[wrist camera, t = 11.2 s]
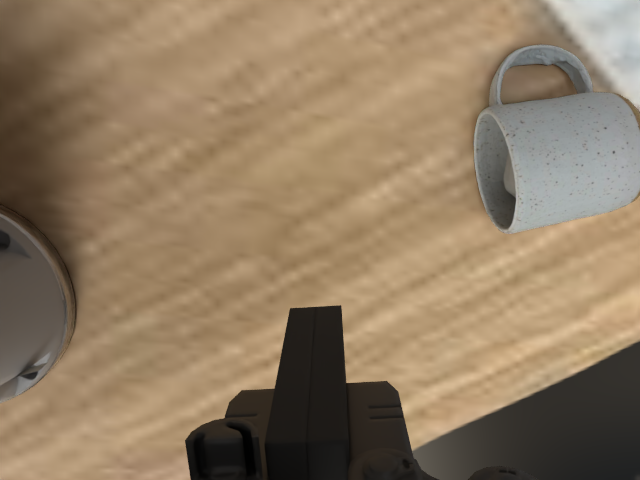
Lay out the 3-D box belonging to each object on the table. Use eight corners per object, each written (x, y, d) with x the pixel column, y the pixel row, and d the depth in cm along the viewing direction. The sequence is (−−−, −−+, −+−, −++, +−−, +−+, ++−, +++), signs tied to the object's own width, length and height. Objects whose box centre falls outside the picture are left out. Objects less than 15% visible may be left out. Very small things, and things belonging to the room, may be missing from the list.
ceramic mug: (602, 197, 37) (669, 219, 30) (481, 220, 38) (518, 248, 31) (587, 34, 35) (656, 14, 28) (458, 62, 36) (492, 49, 28)
